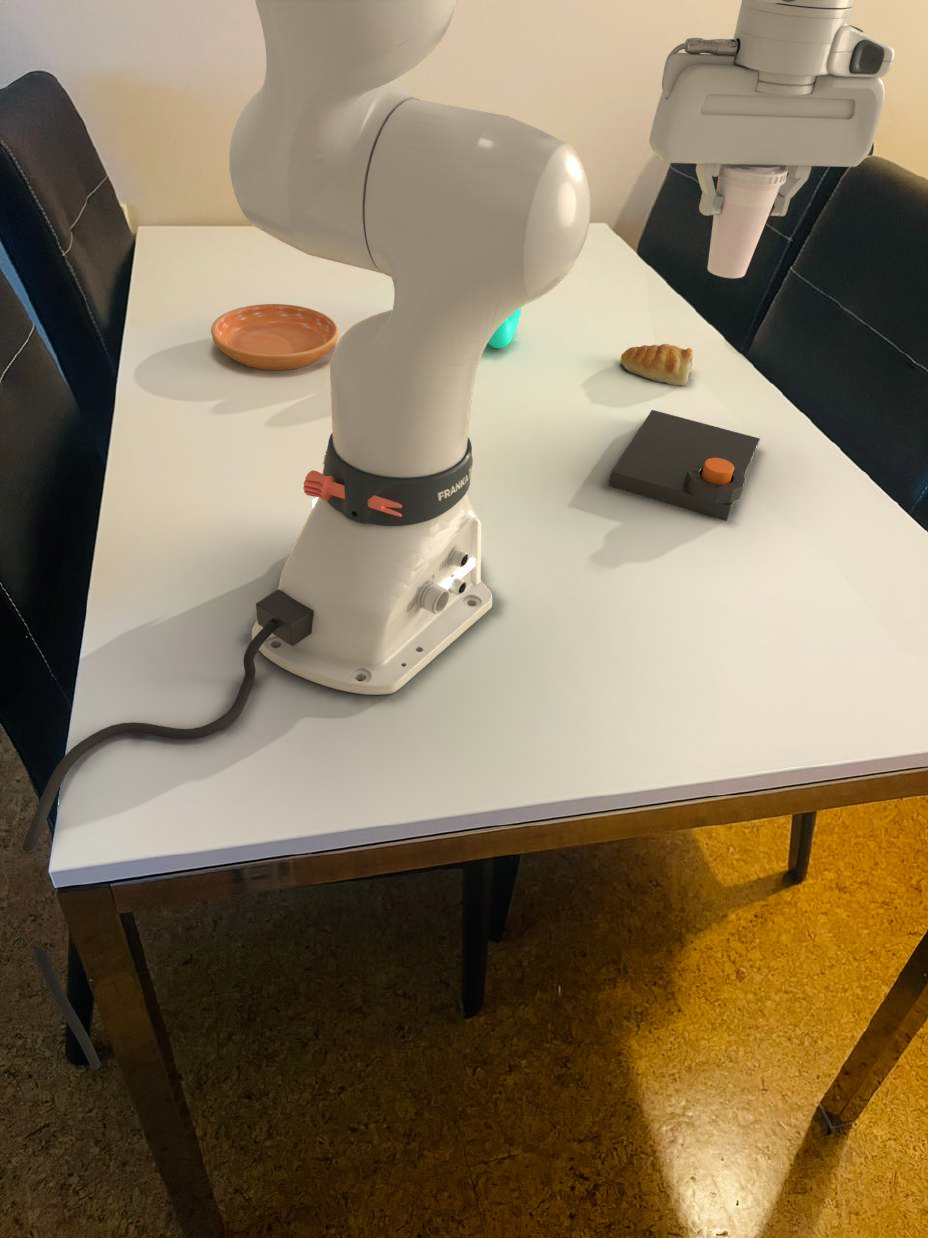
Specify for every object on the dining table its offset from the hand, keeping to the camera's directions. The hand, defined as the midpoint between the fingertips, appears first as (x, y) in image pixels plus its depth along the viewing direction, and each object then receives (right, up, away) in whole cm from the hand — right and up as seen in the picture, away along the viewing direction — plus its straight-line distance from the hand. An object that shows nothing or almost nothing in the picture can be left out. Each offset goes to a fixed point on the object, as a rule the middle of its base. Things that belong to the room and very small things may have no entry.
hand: (742, 213), depth 84 cm
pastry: (0, -6, +34) cm, 35 cm away
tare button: (0, -24, +9) cm, 25 cm away
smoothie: (0, -4, +4) cm, 6 cm away
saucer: (-51, -3, +32) cm, 60 cm away
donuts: (-25, 0, +38) cm, 45 cm away
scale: (-1, -21, +16) cm, 27 cm away
